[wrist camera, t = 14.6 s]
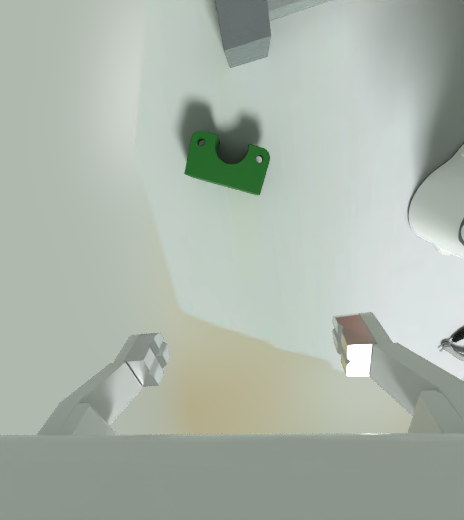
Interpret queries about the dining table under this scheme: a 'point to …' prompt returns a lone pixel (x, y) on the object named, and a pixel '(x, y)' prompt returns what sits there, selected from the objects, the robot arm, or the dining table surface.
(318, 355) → the dining table surface
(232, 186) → the clamp
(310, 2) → the vise
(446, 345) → the bike brake
